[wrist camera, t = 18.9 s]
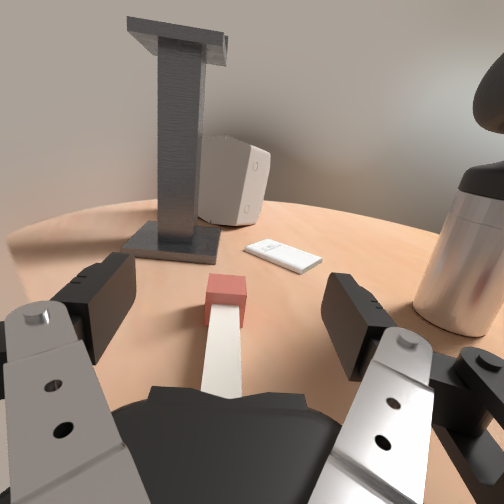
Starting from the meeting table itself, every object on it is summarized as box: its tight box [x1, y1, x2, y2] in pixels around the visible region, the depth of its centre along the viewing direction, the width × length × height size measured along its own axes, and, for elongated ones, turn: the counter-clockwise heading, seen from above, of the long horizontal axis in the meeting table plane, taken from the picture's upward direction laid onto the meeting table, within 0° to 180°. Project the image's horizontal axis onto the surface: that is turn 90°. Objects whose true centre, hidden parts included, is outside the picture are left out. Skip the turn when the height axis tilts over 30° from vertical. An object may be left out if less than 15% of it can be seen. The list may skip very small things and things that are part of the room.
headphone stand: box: [121, 16, 228, 265], centre depth 47 cm, size 15×15×34 cm
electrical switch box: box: [198, 135, 270, 226], centre depth 71 cm, size 15×15×20 cm
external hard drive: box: [245, 239, 323, 275], centre depth 54 cm, size 2×8×12 cm
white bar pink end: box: [201, 273, 247, 399], centre depth 27 cm, size 18×4×4 cm, turn 3°
